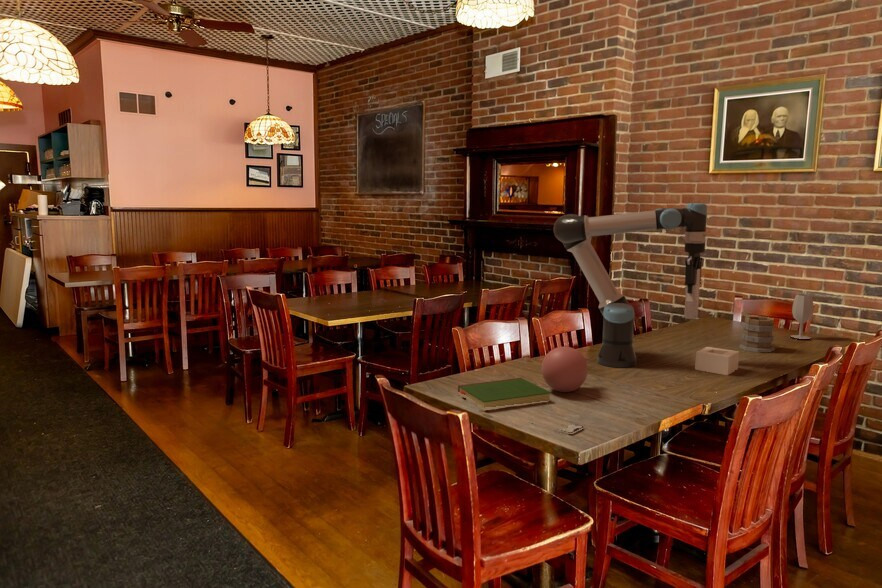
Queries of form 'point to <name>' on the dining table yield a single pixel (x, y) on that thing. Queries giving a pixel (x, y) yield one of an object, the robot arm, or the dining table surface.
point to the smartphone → (571, 428)
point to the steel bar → (692, 307)
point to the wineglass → (802, 312)
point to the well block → (717, 360)
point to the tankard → (757, 333)
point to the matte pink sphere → (564, 369)
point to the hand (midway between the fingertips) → (691, 300)
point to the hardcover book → (504, 392)
